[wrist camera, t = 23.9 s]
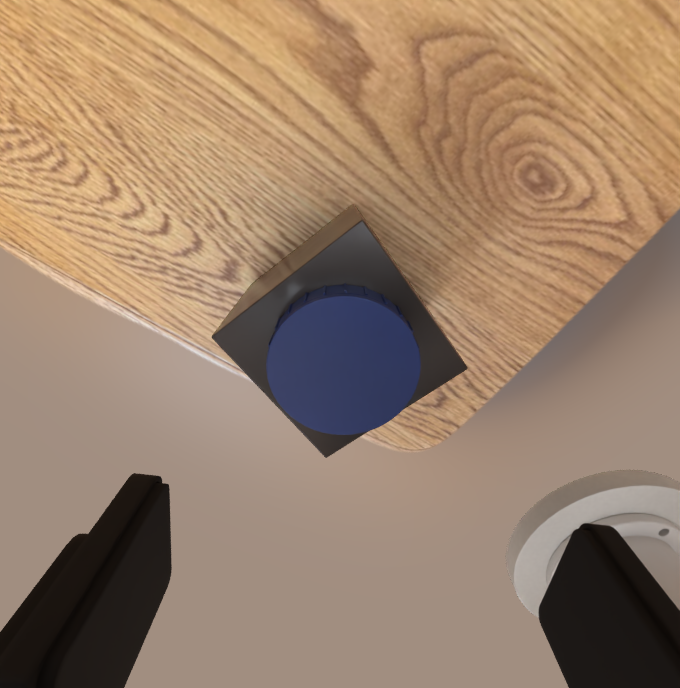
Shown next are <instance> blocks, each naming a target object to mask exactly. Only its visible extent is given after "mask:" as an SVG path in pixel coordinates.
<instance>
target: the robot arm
mask: <svg viewBox="0 0 680 688" xmlns="http://www.w3.org/2000/svg"><path fill="white" fill-rule="evenodd" d="M169 498H170V497H169V485H168V484H163V483H162V479H161V477H160V476H153V475H144V474H135V473H134V474H132V475H131V476H130V477H129V478H128V480H127V481H126V482H125V484H124V485H123V487H122V488H121V489H120V491H119V492H118V494H117V495H116V496H115V498H114V499H113V500H112V502H111V503H110V505H109V506H108V507H107V509H106V510H105V512H104V513H103V514H102V516H101V517H100V518H99V520H98V522H97V523H96V524H95V526H94V527H93V528H92V530H91V531H90V532H89V534H78V535H77V536H75V537H73V538H72V539H71V541H70V542H69V543H68V544H67V545H66V546H65V548H64V549H63V550H62V552H61V553H60V554H59V556H58V557H57V558H56V560H55V561H54V562H53V563H52V565H51V566H50V568H49V569H48V570H47V571H46V573H45V574H44V575H43V577H42V578H41V579H40V581H39V582H38V583H37V585H36V586H35V587H34V589H33V590H32V591H31V593H30V594H29V595H28V596H27V598H26V599H25V600H24V602H23V603H22V604H21V606H20V607H19V608H18V610H17V611H16V612H15V614H14V615H13V616H12V618H11V619H10V620H9V621H8V623H7V624H6V625H5V627H4V628H3V629H2V631H1V632H0V688H124V687H125V684H126V682H127V680H128V677H129V675H130V673H131V670H132V668H133V666H134V664H135V661H136V659H137V657H138V654H139V652H140V650H141V647H142V645H143V643H144V640H145V638H146V635H147V633H148V631H149V629H150V626H151V624H152V622H153V619H154V617H155V615H156V612H157V610H158V608H159V605H160V603H161V601H162V599H163V596H164V594H165V592H166V589H167V587H168V584H169V581H170V576H171V537H170V536H171V534H170V533H171V532H170V499H169ZM546 581H547V585H548V588H547V590H546V592H545V595H544V597H543V599H542V601H541V603H540V606H539V612H538V613H539V620H540V623H541V626H542V628H543V631H544V633H545V635H546V637H547V640H548V642H549V644H550V646H551V648H552V651H553V653H554V655H555V658H556V660H557V662H558V664H559V666H560V669H561V671H562V673H563V675H564V678H565V680H566V682H567V684H568V687H569V688H680V529H679V528H678V527H677V526H676V525H675V524H674V523H672V522H670V521H668V520H667V519H665V518H661V517H658V516H655V515H649V514H641V513H636V514H621V515H615V516H610V517H607V518H603V519H600V520H597V521H595V522H593V523H584V524H582V525H581V526H580V527H579V529H576V530H574V531H573V533H572V534H571V535H570V536H569V537H568V538H567V539H566V540H564V541H563V542H562V543H561V545H560V546H559V547H558V548H557V549H556V550H555V552H554V554H553V555H552V557H551V559H550V561H549V564H548V567H547V570H546Z"/></svg>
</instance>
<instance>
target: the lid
mask: <svg viewBox="0 0 680 688" xmlns="http://www.w3.org/2000/svg"><path fill="white" fill-rule="evenodd" d="M412 332H414V331H413V329H412V327H411V325H410V323H409V321H406V319H405V317H404V316H403V314H402V313H401V311H400V308H399V307H398V306H395V305H394V304H393V303H392V302H391V301H390V300H388V299H387V298H385V296H384V294H382V295H380V294H379V293H377V292H375V291H372V290H370V289H367V288H366V286H364V287H359V286H354V285H346V283H344V285H333V286H327V287H326V285H325V286H324V287H323V288H320V289H317V290H314V291H312V292H310V293H307V292H306V293H305V295H304V296H303V297H301V298H300V299H298V300H297V301H296V302H295V303H294V304H290V305H289V308H288V310H287V311H286V312H285V313H284V315H283V316H282V318H281V319H280V318H279V319H278V322H277V324H276V327H275V333H274V335H272V337H271V339H270V342H269V344H268V347H269V349H268V354H267V360H266V370H267V378H268V382H269V385H270V388H271V390H272V393H273V395H274V397H275V398H276V400H277V402H278V403H279V404H280V406H281V407H282V408H283V409H284V410H285V411H286V412H287V413H288V414H289V415H290V416H291V417H292V418H294V419H295V420H296V421H298V422H299V423H301V424H303V425H304V426H306V427H309V428H311V429H313V430H316V431H319V432H323V433H328V434H336V435H351V434H358V433H363V432H366V431H370V430H373V429H375V428H378V427H380V426H382V425H383V424H385V423H387V422H388V421H390V420H391V419H393V418H394V417H395V416H396V415H398V414H399V413H400V412H401V411H402V410H403V408H404V407H405V406H406V405H407V404H408V402H409V401H410V399H411V398H412V396H413V394H414V392H415V390H416V387H417V384H418V381H419V376H420V368H421V360H420V352H419V350H420V349H419V346H418V344H417V342H416V340H415V337H414V335H413V333H412Z"/></svg>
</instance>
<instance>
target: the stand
mask: <svg viewBox="0 0 680 688" xmlns="http://www.w3.org/2000/svg"><path fill="white" fill-rule="evenodd" d="M344 283H346V285H354V286H359V287H364V286H366V288H367V289H370V290H372V291H375V292H377V293H379V294H380V295H382V294H384V296H385V298H387V299H388V300H390V301H391V302H392V303H393V304H394V305H395V306H398V307H399V308H400V311H401V313H402V314H403V316H404V317H405V319H406V321H409V323H410V325H411V327H412V329H413V331H414V332H412V333H413V335H414V337H415V340H416V342H417V344H418V346H419V349H420V350H419V352H420V360H421V368H420V376H419V381H418V384H417V387H416V390H415V392H414V394H413V396H412V398H411V399H410V401H409V402H408V404H407V405H406V406H405V407H404V408H403V409H405V408H406V407H408V406H409V405H411V404H413V403H414V402H416V401H417V400H419V399H420V398H422V397H424V396H425V395H427V394H428V393H430V392H432V391H433V390H435V389H436V388H438V387H440V386H441V385H443V384H444V383H446V382H448V381H449V380H451V379H452V378H454V377H455V376H457V375H459V374H460V373H462V372H463V371H465V370H467V366H466V364H465V363H464V361H463V360H462V358H461V357H460V356H459V354H458V353H457V351H456V350H455V348H454V347H453V345H452V344H451V342H450V341H449V339H448V338H447V336H446V335H445V333H444V332H443V330H442V329H441V327H440V326H439V325H438V323H437V322H436V320H435V319H434V317H433V316H432V314H431V313H430V311H429V310H428V308H427V307H426V305H425V304H424V303H423V301H422V300H421V298H420V297H419V295H418V294H417V293H416V291H415V290H414V288H413V287H412V286H411V284H410V283H409V281H408V280H407V278H406V277H405V276H404V274H403V273H402V271H401V270H400V269H399V267H398V266H397V264H396V263H395V261H394V260H393V259H392V257H391V256H390V254H389V253H388V252H387V250H386V249H385V247H384V246H383V244H382V243H381V242H380V240H379V239H378V237H377V236H376V235H375V233H374V232H373V230H372V229H371V227H370V226H369V225H368V223H367V222H366V220H365V219H364V218H363V216H362V215H361V213H360V212H359V210H358V209H357V208H356V206H355V205H354V204H352V205H351V206H350V207H348V208H347V209H346V210H345V211H343V212H342V213H341V214H340V215H338V216H337V217H336V218H335V219H333V220H332V221H331V222H330V223H328V224H327V225H326V226H324V227H323V228H322V229H321V230H319V231H318V232H317V233H316V234H314V235H313V236H312V237H311V238H309V239H308V240H307V241H306V242H304V243H303V244H302V245H301V246H299V247H298V248H297V249H295V250H294V251H293V252H292V253H290V254H289V255H288V256H287V257H285V258H284V259H283V260H282V261H280V262H279V263H278V264H277V265H275V266H274V267H273V268H271V269H270V270H269V271H268V272H266V273H265V274H264V275H263V276H261V277H260V278H259V279H258V280H256V281H255V282H254V283H253V284H251V286H250V287H249V288H248V289H247V291H246V292H245V293H244V295H243V296H242V297H241V299H240V300H239V301H238V302H237V304H236V305H235V306H234V308H233V309H232V310H231V312H230V313H229V314H228V316H227V317H226V318H225V319H224V321H223V322H222V323H221V325H220V326H219V327H218V329H217V330H216V331H215V332H214V334H213V335H212V338H213V340H214V341H215V342H216V343H217V344H218V345H219V346H220V347H221V348H222V349H223V350H224V351H225V352H226V353H227V354H228V355H229V356H230V357H231V358H232V360H233V361H234V362H235V363H236V364H237V365H238V366H239V367H240V368H241V369H242V370H243V371H244V372H245V373H246V374H247V375H248V376H249V377H250V379H251V380H252V381H253V382H254V383H255V384H256V385H257V386H258V387H259V388H260V389H261V390H262V391H263V392H264V393H265V394H266V395H267V396H268V397H269V399H270V400H271V401H272V402H274V404H275V405H276V406H277V407H278V408H279V409H280V410H281V411H282V412H283V413H284V414H285V415H286V416H287V418H288V419H290V421H291V422H292V423H293V424H294V425H295V426H296V427H297V428H298V429H299V430H300V431H301V432H302V433H303V434H304V435H305V436H306V437H307V439H308V440H309V441H310V442H311V443H312V444H313V445H314V446H315V447H316V448H317V449H318V450H319V451H320V452H321V453H322V454H323V455H324V457H326V458H327V457H328V456H330V455H332V454H333V453H335V452H336V451H338V450H339V449H341V448H343V447H344V446H346V445H347V444H349V443H351V442H352V441H354V440H355V439H357V438H358V437H360V436H362V435H363V434H365V433H366V432H368V431H366V432H363V433H358V434H351V435H336V434H328V433H323V432H319V431H316V430H313V429H311V428H309V427H306V426H304V425H303V424H301V423H299V422H298V421H296V420H295V419H294V418H292V417H291V416H290V415H289V414H288V413H287V412H286V411H285V410H284V409H283V408H282V407H281V406H280V404H279V403H278V402H277V400H276V398H275V397H274V395H273V393H272V390H271V388H270V385H269V382H268V378H267V370H266V360H267V354H268V349H269V347H268V344H269V342H270V339H271V337H272V335H274V333H275V327H276V324H277V322H278V319H279V318H280V319H281V318H282V316H283V315H284V313H285V312H286V311H287V310H288V308H289V305H290V304H294V303H295V302H296V301H297V300H298V299H300V298H301V297H303V296H304V295H305V293H306V292H307V293H310V292H312V291H314V290H317V289H320V288H323V287H324V286H325V285H326V287H327V286H333V285H344Z"/></svg>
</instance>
